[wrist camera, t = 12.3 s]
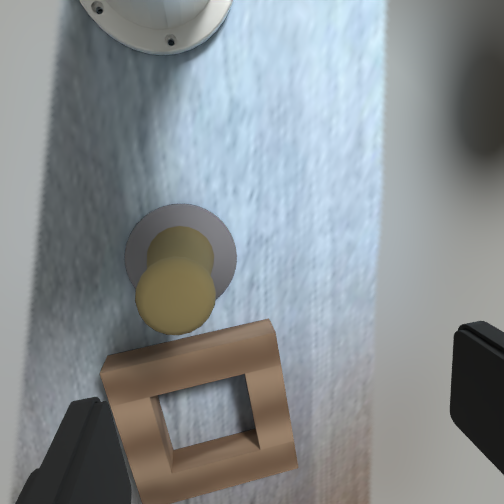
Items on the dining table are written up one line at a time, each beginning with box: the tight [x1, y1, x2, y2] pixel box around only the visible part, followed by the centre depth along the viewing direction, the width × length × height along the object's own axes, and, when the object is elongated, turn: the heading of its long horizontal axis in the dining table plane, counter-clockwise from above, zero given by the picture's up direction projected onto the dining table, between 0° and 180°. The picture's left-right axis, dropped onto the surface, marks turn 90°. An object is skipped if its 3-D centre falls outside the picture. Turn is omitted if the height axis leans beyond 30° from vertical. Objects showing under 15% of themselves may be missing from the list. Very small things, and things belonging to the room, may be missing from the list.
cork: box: [135, 226, 216, 335], centre depth 27 cm, size 6×6×11 cm
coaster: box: [125, 204, 237, 299], centre depth 33 cm, size 10×10×1 cm
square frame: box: [100, 319, 298, 504], centre depth 36 cm, size 16×16×3 cm
